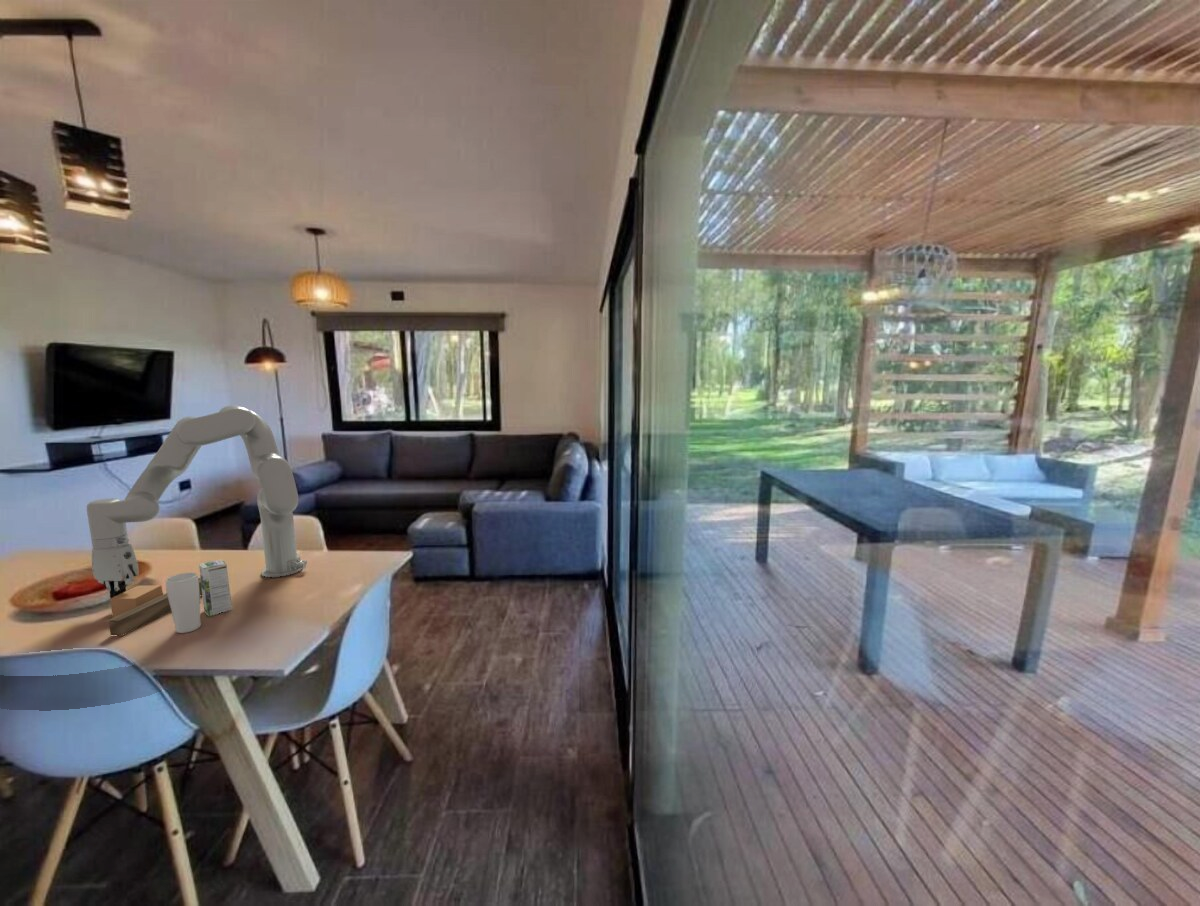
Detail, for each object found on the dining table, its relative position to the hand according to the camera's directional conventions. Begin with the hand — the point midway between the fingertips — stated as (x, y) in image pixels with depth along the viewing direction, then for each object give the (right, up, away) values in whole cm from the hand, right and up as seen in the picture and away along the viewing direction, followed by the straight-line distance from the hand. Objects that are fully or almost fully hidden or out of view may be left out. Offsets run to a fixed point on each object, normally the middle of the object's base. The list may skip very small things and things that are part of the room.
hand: (119, 601), depth 149 cm
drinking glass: (+29, -5, -11) cm, 31 cm away
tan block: (+6, -3, 0) cm, 6 cm away
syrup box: (+29, -3, 0) cm, 29 cm away
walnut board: (+14, -3, -1) cm, 14 cm away
